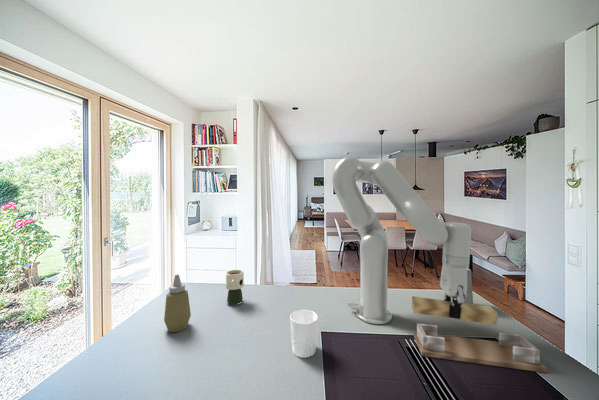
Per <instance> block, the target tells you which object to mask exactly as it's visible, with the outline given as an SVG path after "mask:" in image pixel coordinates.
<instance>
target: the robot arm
mask: <svg viewBox="0 0 599 400" xmlns="http://www.w3.org/2000/svg"><path fill="white" fill-rule="evenodd" d="M332 172H333V173H332V177H331V178H332V181H331V182H332V183H331V184H332V187H333V191H334V192H335V195H336V197H337V199H338V201H339V203H340V206H341V208H342V210H343V211H344V214H345V216H346V219H348V223H349V224H350V225H351V226H352V227H353V228H354V229H356V230H357V232H358V235H360V238H361V239H360V243H359V258H360V261H359V262H360V265H359V266H360V273H359V274H360V281H359V284H360V289H359V291H360V292H359V293H360V295H359V297H360V298H359V299H358V300H357V301H349V300H348V301H347V307H349V308H350V310H354V311H355V310H356V311H355V314H356V316H357V317H358V319H360V320H361V321H363V322H365V323H369V324H371V325H385V324H388V323H390V322H391V321H392V319H393V317H392V316H393V315H392V312H390V311H389V310H388V259H389V255H388V254H389V253H388V252H389V240H388V239H389V238H388V236H387V232H385V229H384V228H383V226H382V225H383V224H382V223H381V222H380V220H379V218H378V216H377V213H375V210H374V209H373V208H372V207H371V205H369V204H368V203H367V202H366V201H365V198H364V196H363V195H362V192H361V191H360V189H359V187H358V184H357V182H359V183H364V184H365V183H366V184H371V185H372V184H373V185H376V186H377V187H378V189H380V190H381V192H382V193H383V194H384V196H386V197H387V199H388V200H389V202H390V203H391V204H392V205H393V207H394V208H396V210H397V211H398V212H399V213H400V214H401V215H402V216H403V217H404V218H405V219H406V220H407V222H408V223H409V224H410V225H411V226H412V227H413V229H414V230H415V231H416V232H417V234H418V236H420V238H421V239H422V240H423V241H424V242H425V243H426V244H427V245H429V246H432V247H438V246H439V247H440V246H442V245H443V246H442V259H441V260H442V261H441V263H442V266H441V270H440V271H441V273H440V280H439V286H440V289H442V290H443V292H444V301H451V305H450V308H449V317H451V318H450V319H453V318H458V319H457V320H460V318H461V307H462V304H464V298H466V295H467V268H468V269H469V268H470V257H471V242H472V241H471V240H472V227H471V225H470V224H467V223H465V222H454V221H453V222H445V221H441V220H440V219H439V218H438V216H436V214H435V213H434V212H433V211H432V210H431V209H430V207H429V206H428V205H427V204H426V202H424V200H423V199H422V198H421V196H420V195H419V194H418V193H417V192H416V191H415V190H414V187H412V186H411V185H410V183H408V181H407V180H406V179H405V178H404V176H403V175H402V174H401V173H400V171H399V170H398V169H397V168H396V167H395V165H393V164H392V163H391V162H390V161H388V160H380V161H378V162H372V161H371V162H370V161H364V160H363V161H362V160H360V159H358V158H357V157H355V156H349V155H348V156H345V157H343V158H341V159H340V160H339V162H337V164H336V165H335V167H334V170H333V171H332ZM455 295H457V296H455ZM454 298H456V299H457V300H454Z"/></svg>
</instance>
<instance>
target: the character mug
mask: <svg viewBox="0 0 599 400" xmlns="http://www.w3.org/2000/svg"><path fill="white" fill-rule="evenodd" d="M244 275H245V274H244V270H242V269H230V270H227V271H226V272H225V289H227V290H228V292H227V298H226V299H227V301H226V303H227V302H228V303H229V304H228V303H227V304H228V305H232V304H238V303H240V302H242V303H243V300H244V299H243V292H242V288H244V283H245V281H244V280H245V279H244V278H245V277H244ZM242 299H243V300H242ZM238 305H239V304H238Z"/></svg>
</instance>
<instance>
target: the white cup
mask: <svg viewBox="0 0 599 400" xmlns="http://www.w3.org/2000/svg"><path fill="white" fill-rule="evenodd" d="M289 317H290V318H289V319H290V338H291V347H292V349H291V350H292V354H293V355H295V356H296V357H297V358H301V359H305V358H306V359H307V357H308V358H310V356H311V357H313V356H314V355H315V354H316V351H317V350H316V347H317V338H318V337H317V336H318V321H319V319H318V318H319V317H318V314H317V313H316V312H314V311H313V310H309V309H298V310H295V311H293V312H292V313H291V314H290V315H289Z"/></svg>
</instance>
